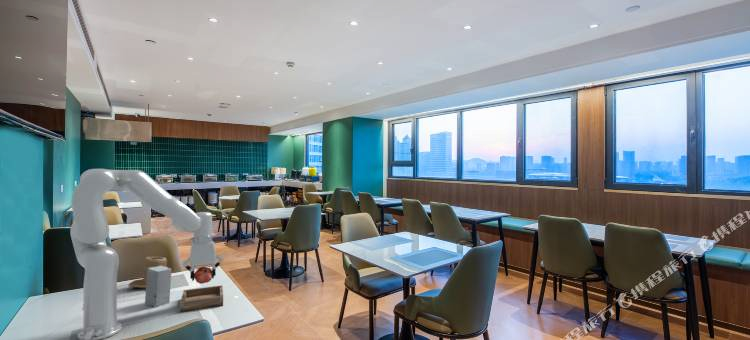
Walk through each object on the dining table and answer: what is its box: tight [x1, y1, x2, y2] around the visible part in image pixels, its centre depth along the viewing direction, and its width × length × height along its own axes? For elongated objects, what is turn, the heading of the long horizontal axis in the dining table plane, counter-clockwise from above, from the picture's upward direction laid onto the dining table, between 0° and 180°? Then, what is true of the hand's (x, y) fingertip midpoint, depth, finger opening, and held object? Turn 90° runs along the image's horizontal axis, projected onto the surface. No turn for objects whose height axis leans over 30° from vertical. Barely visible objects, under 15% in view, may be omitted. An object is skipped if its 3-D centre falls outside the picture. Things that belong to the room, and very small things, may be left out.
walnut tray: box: [179, 285, 224, 313], centre depth 155 cm, size 16×16×4 cm
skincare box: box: [144, 266, 172, 308], centre depth 153 cm, size 8×7×16 cm
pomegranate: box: [194, 266, 213, 285], centre depth 155 cm, size 7×7×10 cm
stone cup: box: [128, 256, 168, 289], centre depth 176 cm, size 15×12×15 cm
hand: (203, 278), depth 155 cm, fingers closed on pomegranate, 7 cm apart
